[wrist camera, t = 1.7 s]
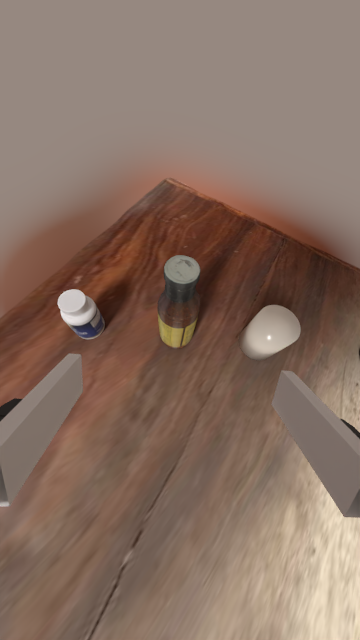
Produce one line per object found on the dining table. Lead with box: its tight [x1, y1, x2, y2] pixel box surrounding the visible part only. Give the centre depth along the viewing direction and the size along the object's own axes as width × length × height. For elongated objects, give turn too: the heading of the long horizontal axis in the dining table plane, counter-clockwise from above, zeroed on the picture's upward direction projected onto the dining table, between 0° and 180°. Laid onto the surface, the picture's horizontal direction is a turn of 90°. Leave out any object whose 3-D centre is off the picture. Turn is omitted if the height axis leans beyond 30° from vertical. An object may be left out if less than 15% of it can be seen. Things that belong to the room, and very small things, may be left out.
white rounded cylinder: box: [238, 305, 301, 360], centre depth 37 cm, size 7×7×9 cm
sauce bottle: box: [158, 255, 200, 348], centre depth 32 cm, size 7×6×20 cm
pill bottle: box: [58, 289, 105, 339], centre depth 35 cm, size 5×5×10 cm
